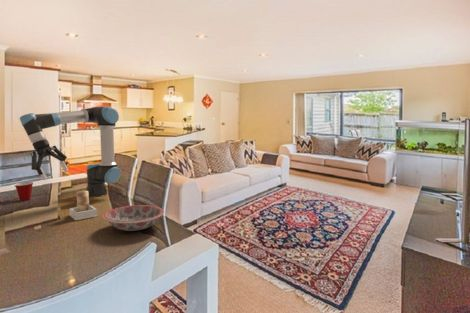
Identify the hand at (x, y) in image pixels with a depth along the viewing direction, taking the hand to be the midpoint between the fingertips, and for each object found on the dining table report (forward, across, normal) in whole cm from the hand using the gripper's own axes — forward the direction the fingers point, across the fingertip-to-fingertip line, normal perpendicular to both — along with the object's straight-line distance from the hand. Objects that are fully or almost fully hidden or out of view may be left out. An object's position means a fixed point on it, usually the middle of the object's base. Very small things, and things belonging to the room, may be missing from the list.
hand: (56, 175), depth 165 cm
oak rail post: (+26, +1, +8) cm, 27 cm away
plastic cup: (+8, -8, -53) cm, 54 cm away
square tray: (+27, +1, +8) cm, 28 cm away
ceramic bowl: (+39, +6, +45) cm, 60 cm away
